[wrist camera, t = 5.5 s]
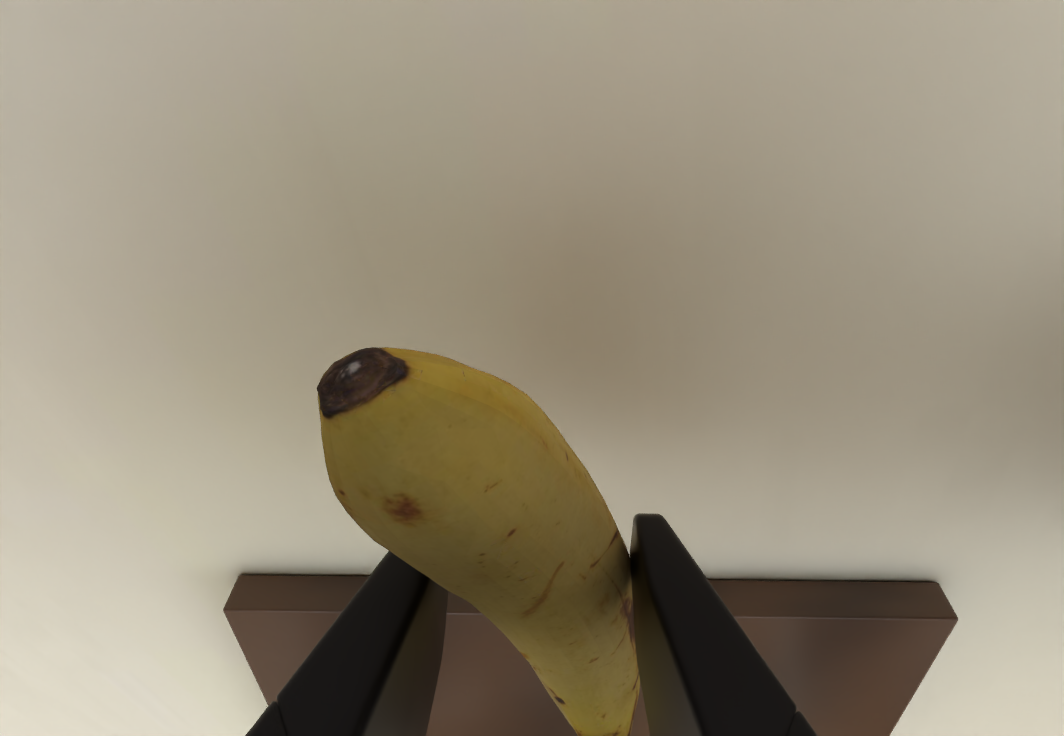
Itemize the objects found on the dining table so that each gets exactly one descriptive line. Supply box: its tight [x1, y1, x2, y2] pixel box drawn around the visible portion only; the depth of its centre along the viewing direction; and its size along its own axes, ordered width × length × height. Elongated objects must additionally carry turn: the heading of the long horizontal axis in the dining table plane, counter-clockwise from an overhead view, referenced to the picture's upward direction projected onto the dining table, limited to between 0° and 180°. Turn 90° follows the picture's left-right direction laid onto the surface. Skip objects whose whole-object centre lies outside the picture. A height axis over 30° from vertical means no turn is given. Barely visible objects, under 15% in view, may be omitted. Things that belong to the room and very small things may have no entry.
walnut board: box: [223, 575, 958, 736], centre depth 22 cm, size 20×13×1 cm, turn 91°
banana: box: [317, 347, 640, 736], centre depth 9 cm, size 10×2×4 cm, turn 18°
